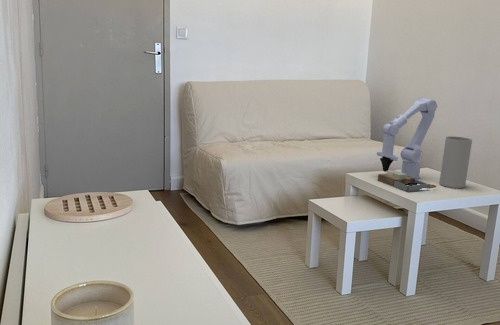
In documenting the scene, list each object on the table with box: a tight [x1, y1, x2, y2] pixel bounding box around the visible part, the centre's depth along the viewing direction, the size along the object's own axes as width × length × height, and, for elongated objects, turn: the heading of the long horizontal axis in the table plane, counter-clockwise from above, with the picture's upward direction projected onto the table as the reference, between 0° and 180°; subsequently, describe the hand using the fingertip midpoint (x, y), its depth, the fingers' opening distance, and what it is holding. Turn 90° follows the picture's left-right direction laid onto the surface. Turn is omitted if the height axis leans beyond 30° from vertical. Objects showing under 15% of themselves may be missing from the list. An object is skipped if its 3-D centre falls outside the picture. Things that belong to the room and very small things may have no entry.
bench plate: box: [377, 173, 415, 188], centre depth 248 cm, size 14×12×4 cm
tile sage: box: [393, 171, 407, 179], centre depth 245 cm, size 5×4×2 cm
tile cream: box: [386, 169, 400, 176], centre depth 250 cm, size 5×4×2 cm
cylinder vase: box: [439, 135, 473, 189], centre depth 246 cm, size 12×12×25 cm
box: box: [393, 179, 431, 193], centre depth 238 cm, size 14×10×3 cm
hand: (385, 171), depth 256 cm, fingers closed
